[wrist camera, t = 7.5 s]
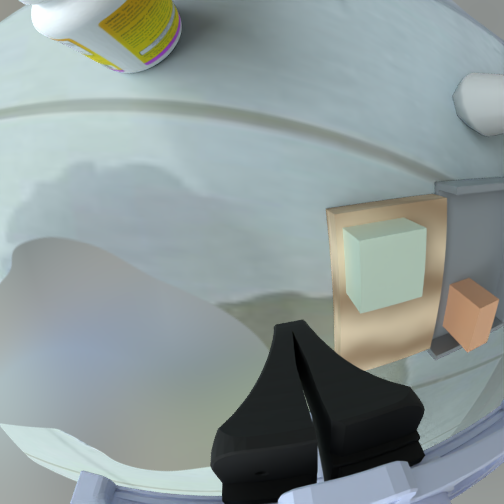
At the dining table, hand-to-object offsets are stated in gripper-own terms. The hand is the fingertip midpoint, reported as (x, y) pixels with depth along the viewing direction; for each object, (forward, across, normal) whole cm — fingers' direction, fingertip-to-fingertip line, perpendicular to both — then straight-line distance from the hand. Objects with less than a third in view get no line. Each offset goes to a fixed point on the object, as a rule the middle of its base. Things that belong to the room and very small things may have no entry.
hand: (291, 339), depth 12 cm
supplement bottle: (+10, +6, -19) cm, 23 cm away
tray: (+9, -21, +4) cm, 23 cm away
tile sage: (+7, -8, 0) cm, 10 cm away
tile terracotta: (+6, -17, +8) cm, 20 cm away
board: (+9, -10, +4) cm, 14 cm away
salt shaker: (+10, -20, -11) cm, 25 cm away
